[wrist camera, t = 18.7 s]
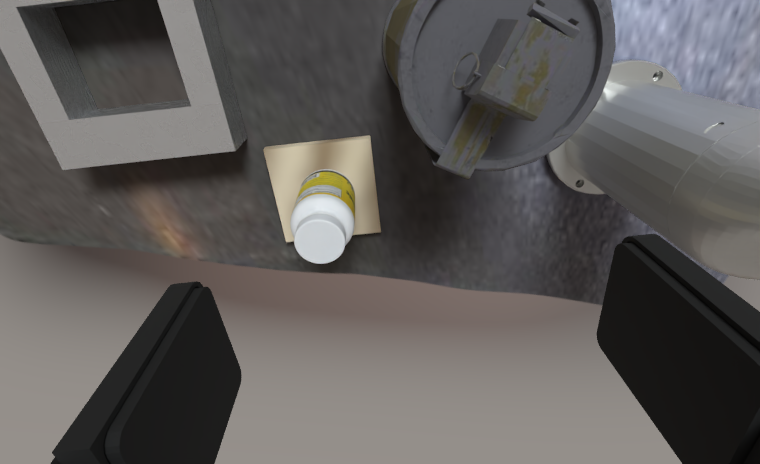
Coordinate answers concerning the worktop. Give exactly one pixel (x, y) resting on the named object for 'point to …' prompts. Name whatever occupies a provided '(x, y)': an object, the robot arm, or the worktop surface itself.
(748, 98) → the worktop surface
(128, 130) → the socket block
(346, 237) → the supplement bottle
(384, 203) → the worktop surface
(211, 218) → the worktop surface
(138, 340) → the robot arm
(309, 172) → the oak board
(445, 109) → the canister
